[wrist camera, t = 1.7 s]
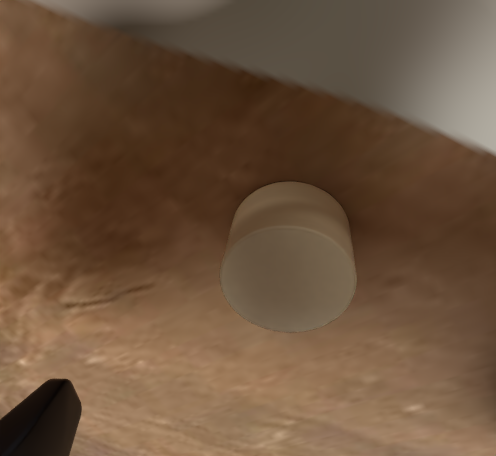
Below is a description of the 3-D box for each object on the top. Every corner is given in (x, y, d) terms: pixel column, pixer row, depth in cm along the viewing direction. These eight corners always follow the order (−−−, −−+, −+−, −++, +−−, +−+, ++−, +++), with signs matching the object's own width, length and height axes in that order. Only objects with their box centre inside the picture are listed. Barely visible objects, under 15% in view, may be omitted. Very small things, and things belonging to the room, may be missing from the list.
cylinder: (351, 177, 13) (359, 225, 11) (348, 278, 15) (355, 334, 12) (225, 182, 13) (209, 228, 11) (239, 278, 15) (227, 333, 13)
